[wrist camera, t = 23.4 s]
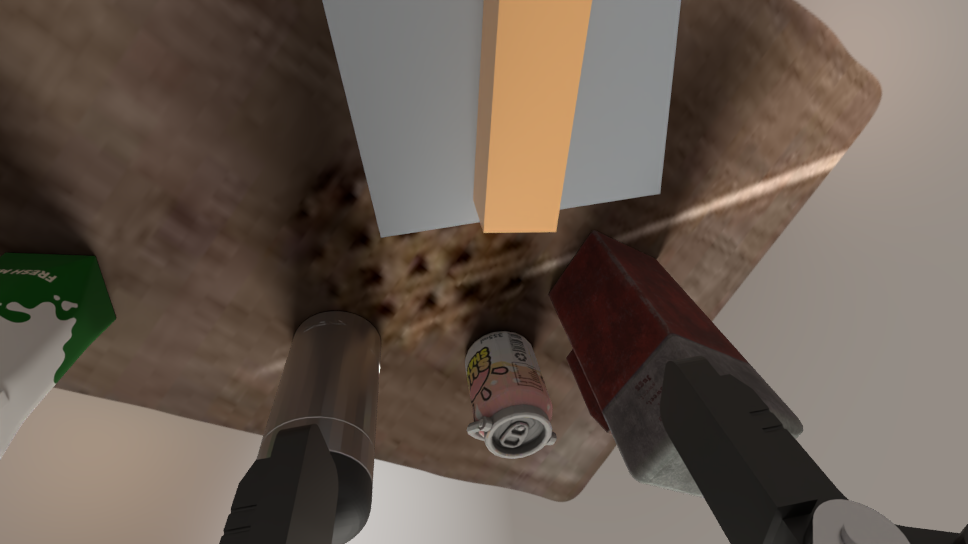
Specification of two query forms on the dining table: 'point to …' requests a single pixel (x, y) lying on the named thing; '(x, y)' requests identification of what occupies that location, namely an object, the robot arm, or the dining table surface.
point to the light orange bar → (526, 110)
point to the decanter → (641, 352)
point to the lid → (454, 104)
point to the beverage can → (508, 396)
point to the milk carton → (44, 327)
